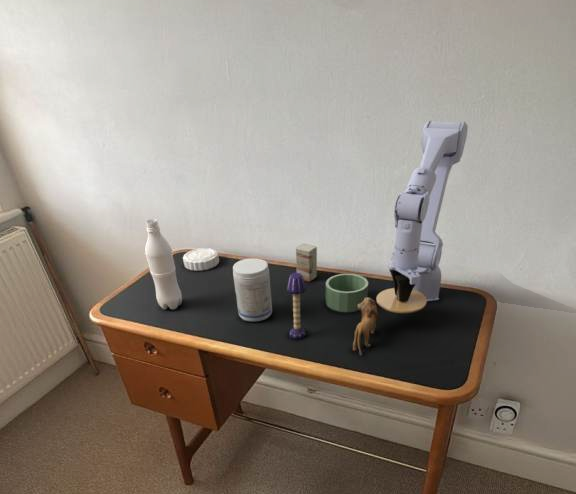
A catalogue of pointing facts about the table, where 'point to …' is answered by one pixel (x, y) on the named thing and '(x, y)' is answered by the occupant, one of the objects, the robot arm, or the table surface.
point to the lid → (393, 304)
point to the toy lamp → (296, 303)
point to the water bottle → (162, 267)
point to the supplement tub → (252, 289)
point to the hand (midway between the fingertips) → (401, 297)
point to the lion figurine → (366, 322)
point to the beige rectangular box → (307, 261)
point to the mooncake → (201, 259)
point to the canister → (346, 292)
